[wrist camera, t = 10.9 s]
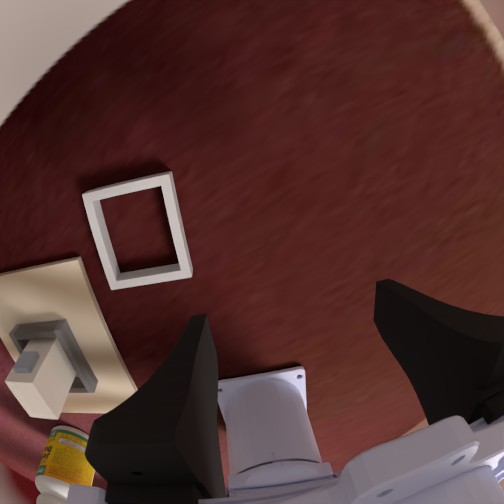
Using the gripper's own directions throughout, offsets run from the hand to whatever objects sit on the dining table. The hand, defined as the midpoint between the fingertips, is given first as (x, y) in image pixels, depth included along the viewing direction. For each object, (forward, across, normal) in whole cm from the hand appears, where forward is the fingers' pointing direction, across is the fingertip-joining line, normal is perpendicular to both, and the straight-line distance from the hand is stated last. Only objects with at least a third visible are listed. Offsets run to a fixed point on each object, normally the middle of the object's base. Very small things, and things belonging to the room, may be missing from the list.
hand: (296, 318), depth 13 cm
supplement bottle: (+10, +25, +21) cm, 34 cm away
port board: (+9, +19, +7) cm, 22 cm away
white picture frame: (+9, +8, -2) cm, 13 cm away
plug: (+9, +19, +7) cm, 22 cm away
